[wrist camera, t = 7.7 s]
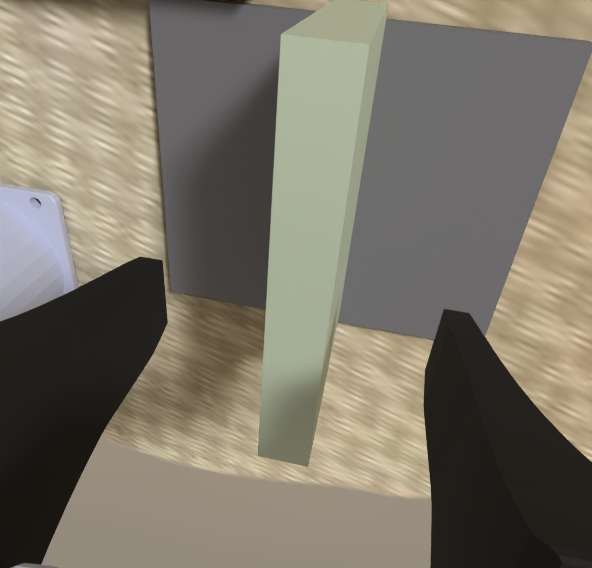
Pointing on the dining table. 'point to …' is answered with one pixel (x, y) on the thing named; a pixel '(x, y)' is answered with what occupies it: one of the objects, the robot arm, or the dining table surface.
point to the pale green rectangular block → (313, 210)
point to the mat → (377, 161)
